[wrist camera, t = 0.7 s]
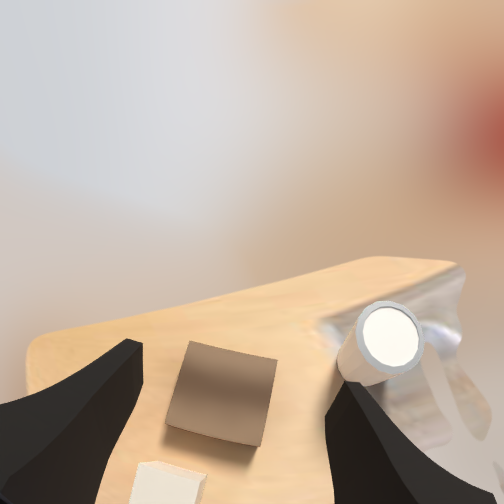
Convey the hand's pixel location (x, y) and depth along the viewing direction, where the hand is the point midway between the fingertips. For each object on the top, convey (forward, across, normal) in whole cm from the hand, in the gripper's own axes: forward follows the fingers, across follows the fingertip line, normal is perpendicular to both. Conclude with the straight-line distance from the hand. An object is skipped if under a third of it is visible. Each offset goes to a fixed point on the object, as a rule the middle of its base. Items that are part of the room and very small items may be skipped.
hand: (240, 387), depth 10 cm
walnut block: (+12, 0, +14) cm, 18 cm away
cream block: (+3, +2, +19) cm, 20 cm away
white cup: (+16, -13, +10) cm, 23 cm away
